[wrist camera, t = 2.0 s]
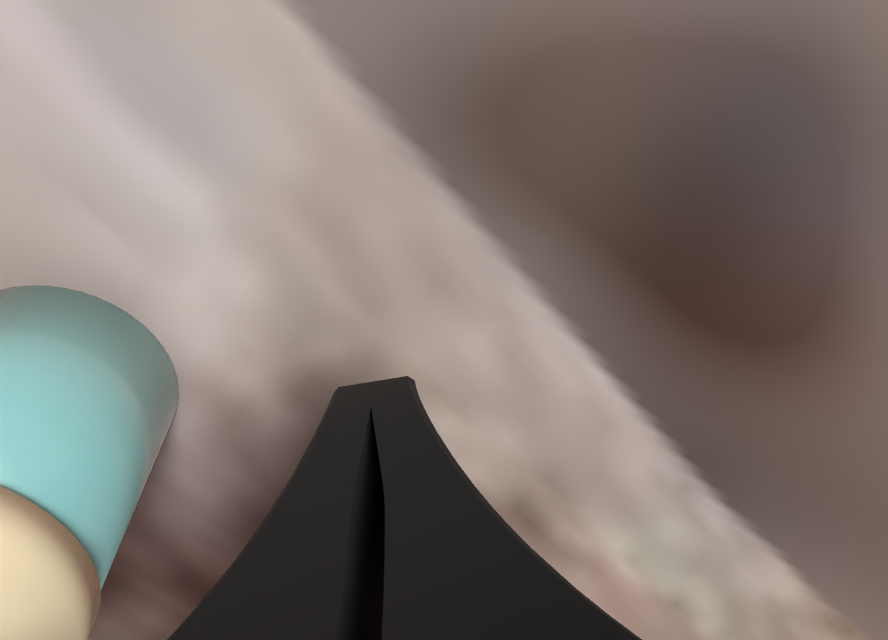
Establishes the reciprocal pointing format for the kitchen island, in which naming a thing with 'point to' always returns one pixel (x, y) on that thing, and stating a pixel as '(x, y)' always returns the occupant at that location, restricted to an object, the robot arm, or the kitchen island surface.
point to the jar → (71, 451)
